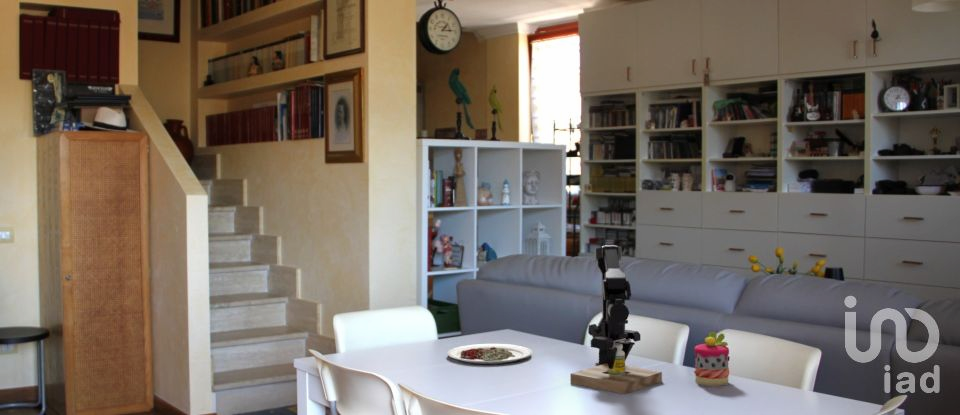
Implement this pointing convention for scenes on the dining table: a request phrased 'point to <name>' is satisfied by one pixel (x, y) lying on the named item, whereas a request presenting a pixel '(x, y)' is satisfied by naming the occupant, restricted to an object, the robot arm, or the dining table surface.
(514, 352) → the plated food
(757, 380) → the dining table surface
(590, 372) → the socket block
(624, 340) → the robot arm
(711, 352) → the cake
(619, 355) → the supplement bottle
